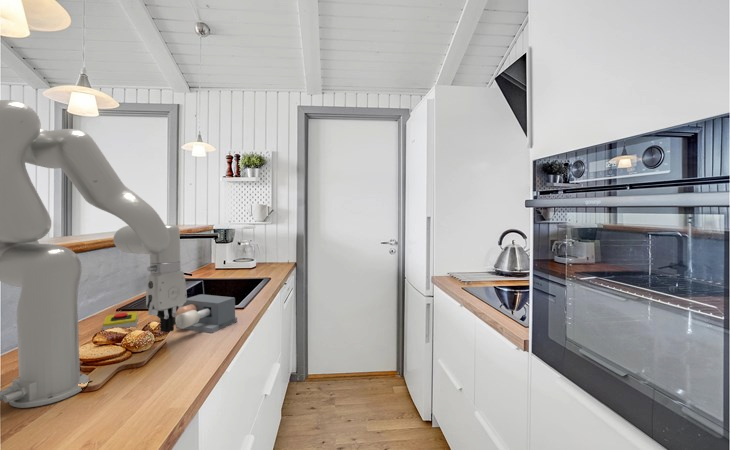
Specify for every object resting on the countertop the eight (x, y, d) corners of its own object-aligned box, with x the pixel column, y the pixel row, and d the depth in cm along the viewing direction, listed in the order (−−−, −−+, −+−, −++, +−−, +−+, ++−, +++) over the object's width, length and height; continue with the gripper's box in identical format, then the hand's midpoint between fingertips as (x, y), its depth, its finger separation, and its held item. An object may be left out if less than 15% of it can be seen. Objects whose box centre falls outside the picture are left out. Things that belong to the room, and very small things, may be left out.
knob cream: (186, 329, 103) (186, 315, 103) (175, 328, 104) (175, 313, 104) (215, 318, 114) (214, 305, 114) (204, 317, 115) (204, 304, 115)
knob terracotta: (185, 322, 110) (184, 308, 110) (174, 321, 111) (174, 307, 111) (211, 312, 121) (211, 300, 120) (201, 311, 122) (201, 299, 122)
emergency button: (101, 322, 109) (106, 310, 121) (101, 335, 109) (106, 322, 121) (136, 317, 113) (138, 306, 126) (136, 330, 114) (138, 318, 126)
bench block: (211, 333, 110) (211, 305, 109) (175, 327, 114) (175, 301, 114) (237, 321, 121) (236, 296, 121) (203, 317, 126) (202, 293, 125)
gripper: (151, 273, 90) (153, 342, 91) (196, 264, 104) (197, 324, 105) (130, 271, 93) (132, 338, 93) (177, 263, 107) (178, 321, 108)
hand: (167, 330), depth 99 cm, fingers closed
